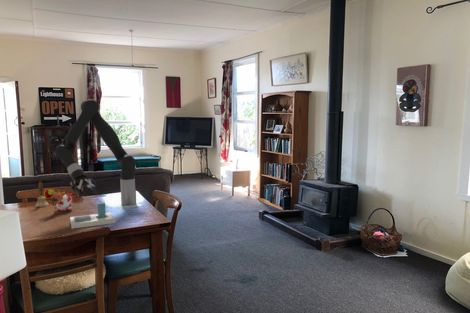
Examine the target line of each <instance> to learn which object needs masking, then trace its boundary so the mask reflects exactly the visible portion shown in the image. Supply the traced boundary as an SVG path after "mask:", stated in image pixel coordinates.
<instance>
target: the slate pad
mask: <svg viewBox="0 0 470 313" xmlns="http://www.w3.org/2000/svg"><path fill="white" fill-rule="evenodd" d="M86 215H87V214H86ZM90 215H91V214H88V215H87V216H85V215H77V216H78V217H76V216H73V217H74V219H75V222H83V221H91V217H90Z"/></svg>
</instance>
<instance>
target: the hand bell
mask: <svg viewBox="0 0 470 313" xmlns="http://www.w3.org/2000/svg"><path fill="white" fill-rule="evenodd" d="M37 186H38V190H39V197H37V201H36V204H35V205H34V207H36V208H44V207H48V206H49V205H50V204H49V203H48V201H47V199H46V198H45V196H44V192H43V188H44V185H43V183H42V181H39V182H38V185H37Z"/></svg>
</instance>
